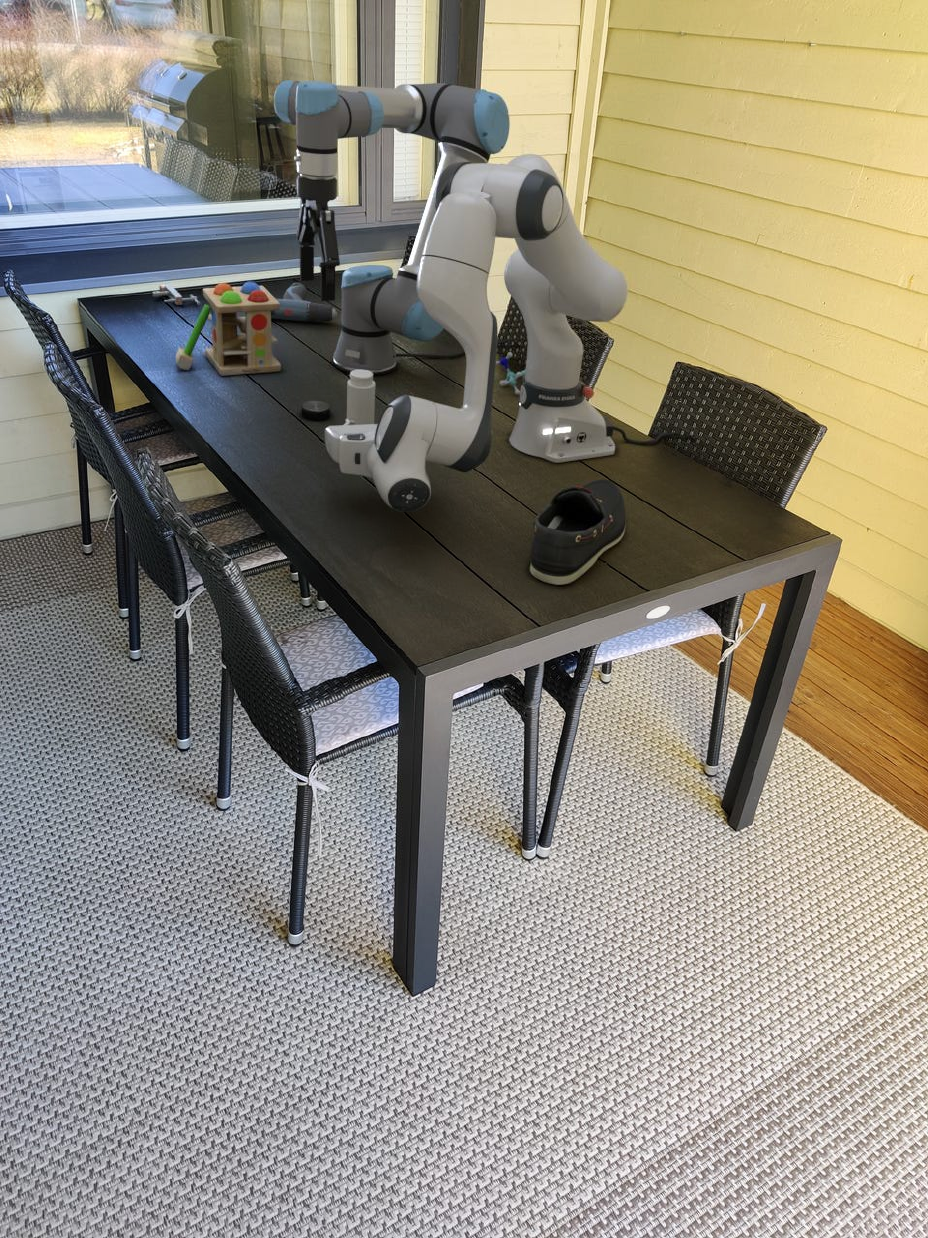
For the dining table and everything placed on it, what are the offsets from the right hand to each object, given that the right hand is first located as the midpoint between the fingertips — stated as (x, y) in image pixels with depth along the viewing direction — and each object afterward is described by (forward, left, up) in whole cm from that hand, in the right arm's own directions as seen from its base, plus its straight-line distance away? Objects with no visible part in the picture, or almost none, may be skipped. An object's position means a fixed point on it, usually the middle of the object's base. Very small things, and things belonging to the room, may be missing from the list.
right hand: (374, 421), depth 182 cm
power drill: (-1, -100, -12) cm, 101 cm away
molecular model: (-42, -44, -12) cm, 62 cm away
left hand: (+6, -31, +15) cm, 35 cm away
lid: (+6, -31, -10) cm, 33 cm away
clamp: (+33, -111, -12) cm, 116 cm away
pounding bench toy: (+23, -62, -12) cm, 67 cm away
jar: (0, -12, -12) cm, 17 cm away
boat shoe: (-31, +29, -12) cm, 44 cm away
